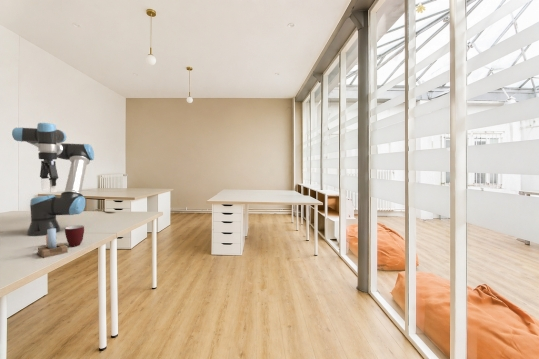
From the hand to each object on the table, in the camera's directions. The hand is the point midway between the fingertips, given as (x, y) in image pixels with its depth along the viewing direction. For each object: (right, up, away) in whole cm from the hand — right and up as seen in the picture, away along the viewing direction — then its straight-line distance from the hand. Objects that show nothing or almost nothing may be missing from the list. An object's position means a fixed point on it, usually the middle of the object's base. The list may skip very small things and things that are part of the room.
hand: (49, 191), depth 136 cm
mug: (+15, -29, -2) cm, 33 cm away
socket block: (+14, -30, -14) cm, 36 cm away
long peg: (+14, -30, -14) cm, 36 cm away
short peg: (+3, -29, -3) cm, 29 cm away
